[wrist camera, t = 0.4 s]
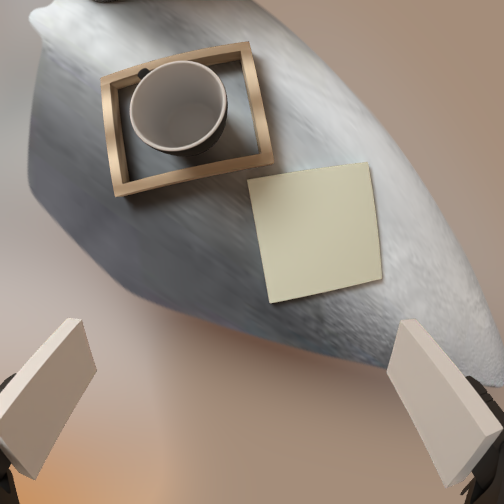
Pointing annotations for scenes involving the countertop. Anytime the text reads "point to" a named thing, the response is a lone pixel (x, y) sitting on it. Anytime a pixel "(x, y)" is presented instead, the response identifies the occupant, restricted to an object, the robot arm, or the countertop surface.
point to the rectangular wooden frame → (264, 158)
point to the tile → (316, 230)
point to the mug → (179, 108)
